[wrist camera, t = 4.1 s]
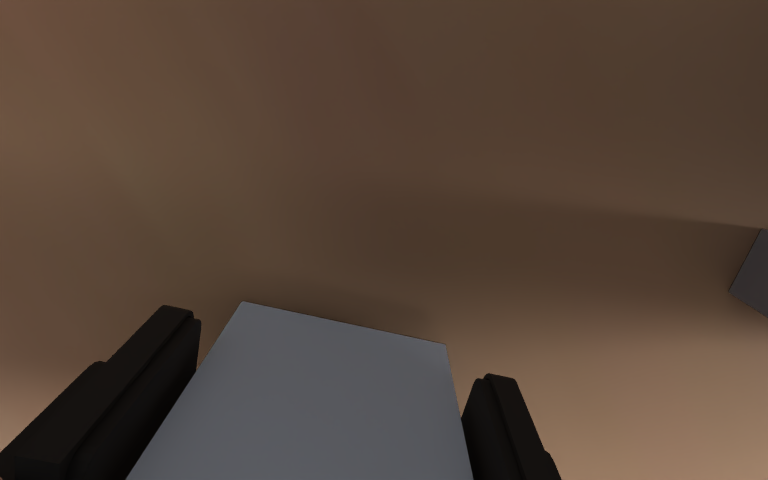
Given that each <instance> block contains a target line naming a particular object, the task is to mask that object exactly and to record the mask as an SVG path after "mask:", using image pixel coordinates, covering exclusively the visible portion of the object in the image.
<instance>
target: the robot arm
mask: <svg viewBox="0 0 768 480" xmlns="http://www.w3.org/2000/svg"><path fill="white" fill-rule="evenodd" d="M200 332H201V321H200V320H198V319H194V315H193V312H192V311H191V310H186V309H181V308H176V307H172V306H167V305H163V306H161V307H160V308H159V309H158V310H157V311H156V312H155V313H154V314H153V315H152V316H151V317H150V318H149V319H148V320H147V321H146V322H145V323H144V324H143V325H142V326H141V327H140V328H139V329H138V330H137V331H136V332H135V334H134V335H133V336H132V337H131V338H130V339H129V340H128V341H127V342H126V343H125V344H124V345H123V346H122V347H121V348H120V349H119V350H118V351H117V352H116V353H115V354H114V355H113V356H112V357H111V358H110V359H109V360H108V361H107V362H102V361H98V362H94V363H93V364H92V365H90V366H89V367H88V368H87V369H86V370H85V371H84V372H83V373H82V374H81V375H80V376H79V377H78V378H77V379H75V380H74V381H73V382H72V383H71V384H70V385H69V386H68V387H67V388H66V389H65V390H64V391H63V392H62V393H61V394H60V395H59V396H58V397H57V398H56V399H55V400H54V401H53V402H52V403H51V404H50V405H49V406H48V407H47V408H46V409H45V410H44V411H43V412H42V413H40V414H39V415H38V416H37V417H36V418H35V419H34V420H33V421H32V422H31V423H30V424H29V425H28V426H27V427H26V428H25V429H24V430H23V431H22V432H21V433H20V434H19V435H18V436H17V437H16V438H15V439H14V440H13V441H12V442H11V443H10V444H9V445H8V446H7V447H5V448H4V449H3V450H2V451H1V452H0V480H126V478H127V477H128V475H129V474H130V472H131V470H132V469H133V467H134V466H135V464H136V463H137V461H138V460H139V458H140V457H141V455H142V454H143V452H144V451H145V449H146V447H147V446H148V444H149V443H150V441H151V440H152V438H153V437H154V435H155V434H156V432H157V431H158V429H159V428H160V426H161V424H162V423H163V421H164V420H165V418H166V417H167V415H168V414H169V412H170V411H171V409H172V408H173V406H174V405H175V403H176V401H177V400H178V398H179V397H180V395H181V394H182V392H183V391H184V389H185V388H186V386H187V385H188V383H189V382H190V380H191V379H192V377H193V375H194V374H195V372H196V365H197V357H198V349H199V341H200ZM461 422H462V427H463V432H464V437H465V441H466V446H467V451H468V456H469V461H470V466H471V470H472V475H473V480H561V477H560V475H559V472H558V470H557V468H556V465H555V463H554V461H553V459H552V457H551V455H550V454H549V453H548V452H546V451H545V450H544V447H543V445H542V443H541V440H540V438H539V435H538V433H537V431H536V428H535V426H534V423H533V421H532V418H531V416H530V414H529V411H528V409H527V406H526V404H525V402H524V399H523V397H522V394H521V392H520V389H519V387H518V385H517V382H516V381H515V379H513V378H509V377H504V376H499V375H495V374H490V373H488V374H486V375H485V376H484V378H483V379H480V378H477V379H476V380H475V382H474V384H473V387H472V389H471V392H470V395H469V398H468V401H467V403H466V406H465V409H464V412H463V415H462V417H461Z"/></svg>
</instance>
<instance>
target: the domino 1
mask: <svg viewBox="0 0 768 480" xmlns="http://www.w3.org/2000/svg"><path fill="white" fill-rule="evenodd" d="M126 480H473V475H472V470H471V466H470V461H469V456H468V451H467V446H466V441H465V437H464V432H463V427H462V422H461V417H460V412H459V408H458V403H457V398H456V393H455V388H454V383H453V379H452V374H451V369H450V364H449V359H448V355H447V350H446V345H445V344H441V343H436V342H431V341H427V340H422V339H417V338H413V337H408V336H403V335H399V334H394V333H389V332H385V331H380V330H375V329H371V328H366V327H361V326H357V325H352V324H347V323H343V322H338V321H333V320H329V319H324V318H319V317H315V316H310V315H305V314H301V313H296V312H291V311H287V310H282V309H277V308H272V307H268V306H263V305H258V304H254V303H249V302H244V301H242V302H241V303H240V305H239V306H238V308H237V310H236V311H235V313H234V314H233V316H232V317H231V319H230V320H229V322H228V323H227V325H226V326H225V328H224V329H223V331H222V333H221V334H220V336H219V337H218V339H217V340H216V342H215V343H214V345H213V346H212V348H211V349H210V351H209V352H208V354H207V356H206V357H205V359H204V360H203V362H202V363H201V365H200V366H199V368H198V369H197V371H196V372H195V374H194V375H193V377H192V379H191V380H190V382H189V383H188V385H187V386H186V388H185V389H184V391H183V392H182V394H181V395H180V397H179V398H178V400H177V401H176V403H175V405H174V406H173V408H172V409H171V411H170V412H169V414H168V415H167V417H166V418H165V420H164V421H163V423H162V424H161V426H160V428H159V429H158V431H157V432H156V434H155V435H154V437H153V438H152V440H151V441H150V443H149V444H148V446H147V447H146V449H145V451H144V452H143V454H142V455H141V457H140V458H139V460H138V461H137V463H136V464H135V466H134V467H133V469H132V470H131V472H130V474H129V475H128V477H127V478H126Z"/></svg>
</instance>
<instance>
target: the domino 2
mask: <svg viewBox="0 0 768 480" xmlns="http://www.w3.org/2000/svg"><path fill="white" fill-rule="evenodd" d="M729 293H730V294H732V295H733V296H735V297H736V298H738V299H740V300H741V301H743V302H744V303H746V304H747V305H749V306H751V307H752V308H754V309H755V310H757V311H758V312H760V313H762V314H763V315H765V316H766V317H768V230H766V229H761V231H760V233H759V235H758V237H757V239H756V241H755V242H754V244H753V246H752V248H751V250H750V252H749V254H748V256H747V258H746V259H745V261H744V263H743V265H742V267H741V269H740V271H739V273H738V275H737V277H736V278H735V280H734V282H733V284H732V286H731V288H730V290H729Z"/></svg>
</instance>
